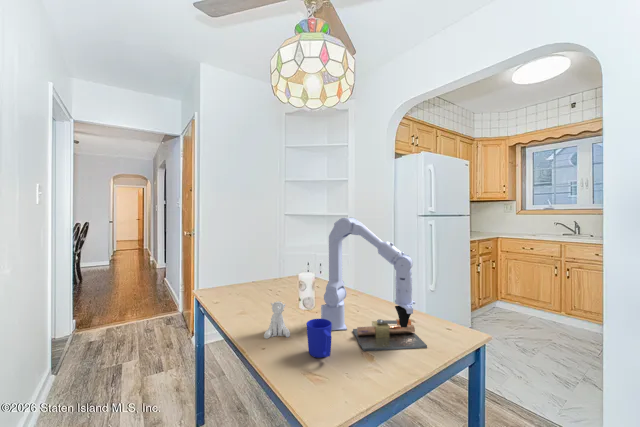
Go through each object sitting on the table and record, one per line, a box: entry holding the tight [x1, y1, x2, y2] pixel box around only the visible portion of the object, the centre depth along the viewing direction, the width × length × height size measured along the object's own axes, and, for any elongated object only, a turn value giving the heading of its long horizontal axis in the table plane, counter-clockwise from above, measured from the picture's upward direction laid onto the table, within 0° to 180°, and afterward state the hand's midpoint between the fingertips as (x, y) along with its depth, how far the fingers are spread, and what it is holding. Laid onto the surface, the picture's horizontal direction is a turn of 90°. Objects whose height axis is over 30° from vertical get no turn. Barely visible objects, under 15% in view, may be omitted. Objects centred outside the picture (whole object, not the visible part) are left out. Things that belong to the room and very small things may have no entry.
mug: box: [305, 318, 333, 359], centre depth 92 cm, size 8×12×10 cm
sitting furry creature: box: [263, 301, 291, 340], centre depth 109 cm, size 10×9×12 cm
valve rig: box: [352, 320, 428, 352], centre depth 104 cm, size 22×16×5 cm
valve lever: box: [376, 318, 412, 325], centre depth 106 cm, size 12×2×1 cm, turn 88°
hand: (403, 326), depth 104 cm, fingers closed
